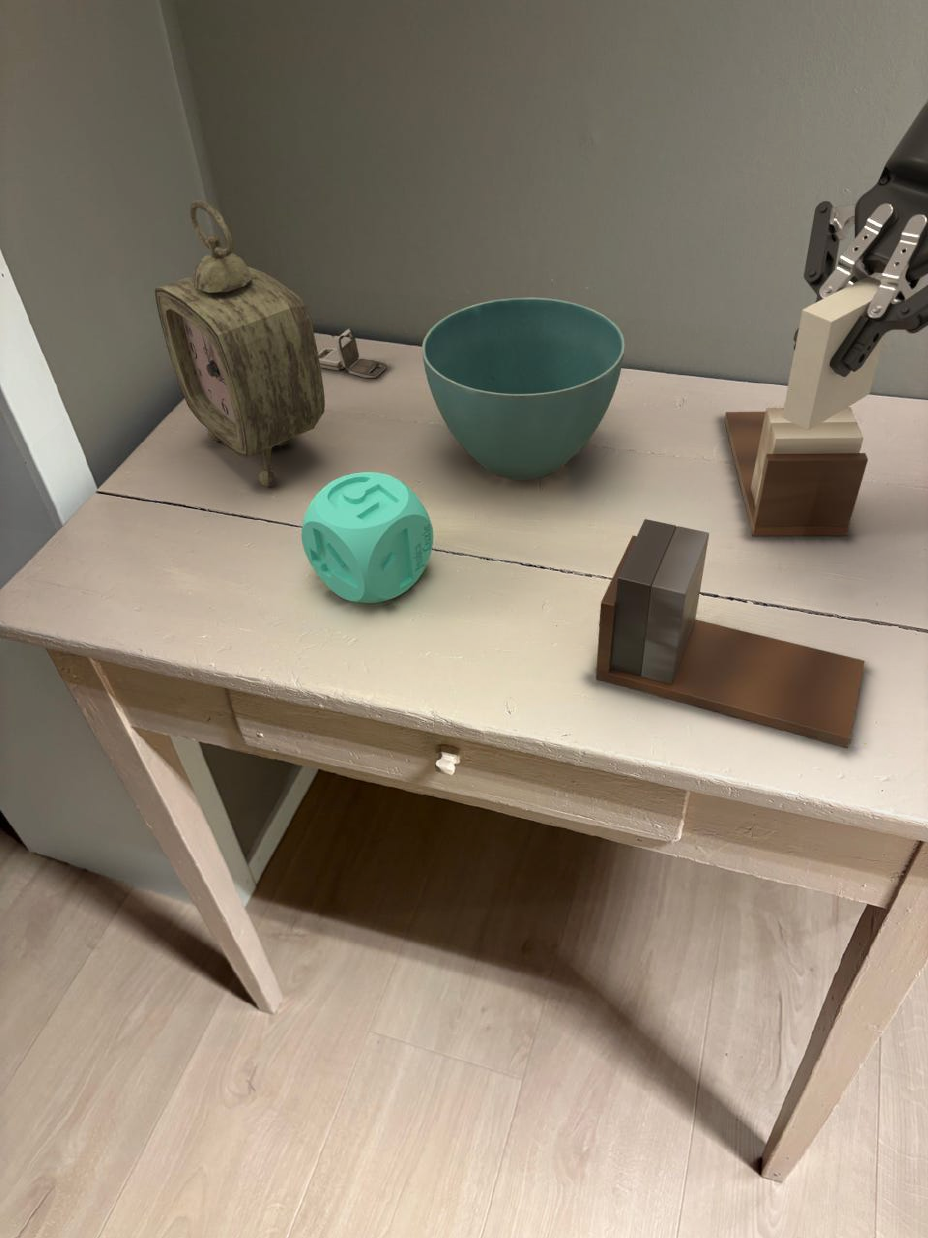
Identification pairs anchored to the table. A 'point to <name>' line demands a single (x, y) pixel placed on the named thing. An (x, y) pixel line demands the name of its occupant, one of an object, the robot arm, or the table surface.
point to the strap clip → (348, 358)
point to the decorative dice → (367, 537)
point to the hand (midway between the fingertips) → (819, 362)
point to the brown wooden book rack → (797, 472)
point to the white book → (829, 357)
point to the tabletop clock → (241, 351)
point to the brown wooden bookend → (713, 646)
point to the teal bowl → (523, 380)
